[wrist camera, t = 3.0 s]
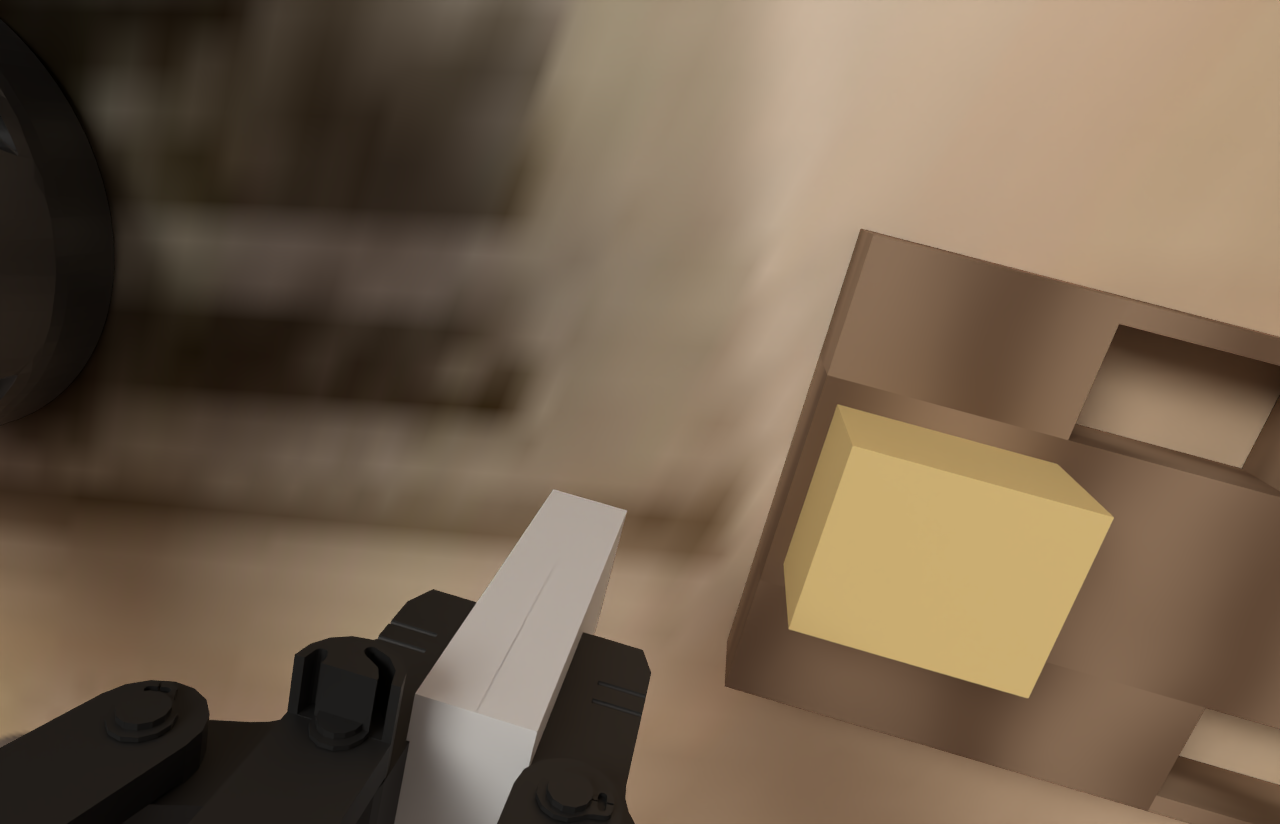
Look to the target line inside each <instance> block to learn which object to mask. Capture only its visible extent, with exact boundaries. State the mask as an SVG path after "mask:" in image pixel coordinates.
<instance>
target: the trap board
mask: <svg viewBox="0 0 1280 824" xmlns="http://www.w3.org/2000/svg"><path fill="white" fill-rule="evenodd" d="M1119 324H1121V325H1125V326H1129V327H1133V328H1137V329H1140V330H1144V331H1148V332H1152V333H1156V334H1160V335H1163V336H1167V337H1171V338H1175V339H1179V340H1183V341H1186V342H1190V343H1194V344H1198V345H1202V346H1206V347H1209V348H1213V349H1217V350H1221V351H1225V352H1229V353H1232V354H1236V355H1240V356H1244V357H1248V358H1252V359H1256V360H1259V361H1263V362H1267V363H1271V364H1275V365H1279V366H1280V337H1278V336H1274V335H1270V334H1266V333H1262V332H1259V331H1255V330H1251V329H1247V328H1243V327H1239V326H1235V325H1232V324H1228V323H1224V322H1220V321H1216V320H1212V319H1208V318H1204V317H1201V316H1197V315H1193V314H1189V313H1185V312H1181V311H1177V310H1174V309H1170V308H1166V307H1162V306H1158V305H1154V304H1150V303H1146V302H1143V301H1139V300H1135V299H1131V298H1127V297H1123V296H1119V295H1116V294H1112V293H1108V292H1104V291H1100V290H1096V289H1092V288H1088V287H1085V286H1081V285H1077V284H1073V283H1069V282H1065V281H1061V280H1058V279H1054V278H1050V277H1046V276H1042V275H1038V274H1034V273H1030V272H1027V271H1023V270H1019V269H1015V268H1011V267H1007V266H1003V265H1000V264H996V263H992V262H988V261H984V260H980V259H976V258H972V257H969V256H965V255H961V254H957V253H953V252H949V251H945V250H942V249H938V248H934V247H930V246H926V245H922V244H918V243H914V242H911V241H907V240H903V239H899V238H895V237H891V236H887V235H884V234H880V233H876V232H872V231H868V230H864V229H861V230H860V233H859V236H858V239H857V242H856V245H855V248H854V251H853V254H852V258H851V261H850V264H849V267H848V270H847V273H846V276H845V279H844V282H843V285H842V288H841V292H840V295H839V298H838V301H837V304H836V307H835V310H834V313H833V316H832V319H831V322H830V325H829V329H828V332H827V335H826V338H825V341H824V344H823V347H822V350H821V353H820V356H819V359H818V363H817V366H816V369H815V372H814V375H813V378H812V381H811V384H810V387H809V390H808V393H807V397H806V400H805V403H804V406H803V409H802V412H801V415H800V418H799V421H798V424H797V427H796V431H795V434H794V437H793V440H792V443H791V446H790V449H789V452H788V455H787V458H786V461H785V464H784V468H783V471H782V474H781V477H780V480H779V483H778V486H777V489H776V492H775V495H774V498H773V502H772V505H771V508H770V511H769V514H768V517H767V520H766V523H765V526H764V529H763V532H762V536H761V539H760V542H759V545H758V548H757V551H756V554H755V557H754V560H753V563H752V566H751V570H750V573H749V576H748V579H747V582H746V585H745V588H744V591H743V594H742V597H741V600H740V603H739V607H738V610H737V613H736V616H735V619H734V622H733V625H732V628H731V631H730V634H729V637H728V641H727V655H726V674H725V686H726V687H729V688H732V689H736V690H739V691H743V692H746V693H749V694H753V695H756V696H759V697H763V698H766V699H770V700H773V701H776V702H780V703H783V704H787V705H790V706H793V707H797V708H800V709H804V710H807V711H810V712H814V713H817V714H820V715H824V716H827V717H831V718H834V719H837V720H841V721H844V722H848V723H851V724H854V725H858V726H861V727H865V728H868V729H871V730H875V731H878V732H881V733H885V734H888V735H892V736H895V737H898V738H902V739H905V740H909V741H912V742H915V743H919V744H922V745H925V746H929V747H932V748H936V749H939V750H942V751H946V752H949V753H953V754H956V755H959V756H963V757H966V758H970V759H973V760H976V761H980V762H983V763H986V764H990V765H993V766H997V767H1000V768H1003V769H1007V770H1010V771H1014V772H1017V773H1020V774H1024V775H1027V776H1030V777H1034V778H1037V779H1041V780H1044V781H1047V782H1051V783H1054V784H1058V785H1061V786H1064V787H1068V788H1071V789H1075V790H1078V791H1081V792H1085V793H1088V794H1091V795H1095V796H1098V797H1102V798H1105V799H1108V800H1112V801H1115V802H1119V803H1122V804H1125V805H1129V806H1132V807H1135V808H1139V809H1142V810H1146V811H1149V812H1152V813H1156V814H1159V815H1163V816H1166V817H1169V818H1173V819H1176V820H1180V821H1183V822H1186V823H1190V824H1280V785H1277V784H1273V783H1270V782H1266V781H1263V780H1259V779H1256V778H1253V777H1249V776H1246V775H1242V774H1239V773H1235V772H1232V771H1228V770H1225V769H1222V768H1218V767H1215V766H1211V765H1208V764H1204V763H1201V762H1197V761H1194V760H1191V759H1187V758H1184V757H1180V756H1179V754H1180V753H1181V751H1182V749H1183V747H1184V745H1185V744H1186V742H1187V740H1188V738H1189V737H1190V735H1191V733H1192V731H1193V729H1194V728H1195V726H1196V724H1197V722H1198V720H1199V719H1200V717H1201V715H1202V713H1203V712H1204V710H1205V708H1208V709H1212V710H1215V711H1219V712H1222V713H1226V714H1229V715H1233V716H1236V717H1239V718H1243V719H1246V720H1250V721H1253V722H1257V723H1260V724H1264V725H1267V726H1271V727H1274V728H1278V729H1280V396H1279V398H1278V400H1277V402H1276V404H1275V406H1274V408H1273V410H1272V412H1271V414H1270V416H1269V418H1268V419H1267V421H1266V423H1265V425H1264V427H1263V429H1262V431H1261V433H1260V435H1259V437H1258V439H1257V441H1256V443H1255V445H1254V446H1253V448H1252V450H1251V452H1250V454H1249V456H1248V458H1247V460H1246V462H1245V464H1244V466H1243V468H1242V469H1241V468H1237V467H1234V466H1230V465H1226V464H1223V463H1219V462H1215V461H1211V460H1208V459H1204V458H1200V457H1196V456H1193V455H1189V454H1185V453H1182V452H1178V451H1174V450H1170V449H1167V448H1163V447H1159V446H1156V445H1152V444H1148V443H1144V442H1141V441H1137V440H1133V439H1130V438H1126V437H1122V436H1118V435H1115V434H1111V433H1107V432H1103V431H1100V430H1096V429H1092V428H1089V427H1085V426H1081V425H1077V424H1075V423H1076V421H1077V419H1078V417H1079V414H1080V412H1081V410H1082V407H1083V405H1084V403H1085V401H1086V398H1087V396H1088V394H1089V392H1090V389H1091V387H1092V385H1093V382H1094V380H1095V378H1096V376H1097V373H1098V371H1099V369H1100V366H1101V364H1102V362H1103V360H1104V357H1105V355H1106V353H1107V351H1108V348H1109V346H1110V344H1111V341H1112V339H1113V337H1114V335H1115V332H1116V330H1117V328H1118V326H1119ZM837 404H838V405H842V406H846V407H849V408H853V409H857V410H860V411H864V412H868V413H871V414H875V415H879V416H883V417H886V418H890V419H894V420H897V421H901V422H905V423H908V424H912V425H916V426H919V427H923V428H927V429H930V430H934V431H938V432H941V433H945V434H949V435H952V436H956V437H960V438H963V439H967V440H971V441H974V442H978V443H982V444H985V445H989V446H993V447H996V448H1000V449H1004V450H1008V451H1011V452H1015V453H1019V454H1022V455H1026V456H1030V457H1033V458H1037V459H1041V460H1044V461H1048V462H1052V463H1055V464H1058V465H1059V466H1060V467H1061V468H1062V469H1063V470H1064V471H1065V472H1066V473H1068V474H1069V475H1070V476H1071V477H1072V478H1073V479H1074V480H1075V481H1076V482H1077V483H1078V484H1079V485H1080V486H1081V487H1082V488H1083V489H1085V490H1086V491H1087V492H1088V493H1089V494H1090V495H1091V496H1092V497H1093V498H1094V499H1095V500H1096V501H1097V502H1098V503H1099V504H1100V505H1102V506H1103V507H1104V508H1105V509H1106V510H1107V511H1108V512H1109V513H1110V514H1111V515H1112V516H1113V517H1114V519H1113V521H1112V523H1111V525H1110V527H1109V530H1108V532H1107V534H1106V536H1105V538H1104V540H1103V542H1102V544H1101V546H1100V549H1099V551H1098V553H1097V555H1096V557H1095V559H1094V561H1093V563H1092V565H1091V568H1090V570H1089V572H1088V574H1087V576H1086V578H1085V580H1084V582H1083V584H1082V587H1081V589H1080V591H1079V593H1078V595H1077V597H1076V599H1075V601H1074V603H1073V605H1072V608H1071V610H1070V612H1069V614H1068V616H1067V618H1066V620H1065V622H1064V624H1063V627H1062V629H1061V631H1060V633H1059V635H1058V637H1057V639H1056V641H1055V643H1054V646H1053V648H1052V650H1051V652H1050V654H1049V656H1048V658H1047V660H1046V662H1045V665H1044V667H1043V669H1042V671H1041V673H1040V675H1039V677H1038V679H1037V681H1036V684H1035V686H1034V688H1033V690H1032V692H1031V694H1030V696H1029V698H1024V697H1021V696H1018V695H1014V694H1011V693H1007V692H1004V691H1000V690H997V689H993V688H990V687H986V686H983V685H980V684H976V683H973V682H969V681H966V680H962V679H959V678H955V677H952V676H948V675H945V674H942V673H938V672H935V671H931V670H928V669H924V668H921V667H917V666H914V665H910V664H907V663H904V662H900V661H897V660H893V659H890V658H886V657H883V656H879V655H876V654H873V653H869V652H866V651H862V650H859V649H855V648H852V647H848V646H845V645H841V644H838V643H835V642H831V641H828V640H824V639H821V638H817V637H814V636H810V635H807V634H803V633H800V632H797V631H793V630H790V629H789V628H788V616H787V603H786V590H785V578H784V565H783V564H784V561H785V558H786V555H787V552H788V549H789V546H790V543H791V540H792V537H793V534H794V531H795V528H796V525H797V522H798V519H799V516H800V513H801V510H802V508H803V505H804V502H805V499H806V496H807V493H808V490H809V487H810V484H811V481H812V478H813V475H814V472H815V469H816V466H817V463H818V460H819V457H820V454H821V451H822V448H823V445H824V442H825V439H826V436H827V433H828V431H829V428H830V425H831V422H832V419H833V416H834V413H835V410H836V407H837Z"/></svg>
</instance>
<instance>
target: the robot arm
mask: <svg viewBox="0 0 1280 824" xmlns="http://www.w3.org/2000/svg"><path fill="white" fill-rule="evenodd" d="M113 274H114V244H113V231H112V223H111V216H110V211H109V206H108V201H107V196H106V192H105V188H104V185H103V181H102V177H101V174H100V171H99V168H98V165H97V162H96V159H95V157H94V154H93V152H92V149H91V147H90V144H89V142H88V139H87V137H86V135H85V133H84V131H83V129H82V127H81V124H80V122H79V121H78V119H77V117H76V115H75V113H74V111H73V109H72V108H71V106H70V104H69V102H68V101H67V99H66V98H65V96H64V94H63V93H62V91H61V89H60V88H59V86H58V85H57V83H56V82H55V81H54V79H53V78H52V76H51V75H50V73H49V72H48V71H47V69H46V68H45V67H44V66H43V64H42V63H41V62H40V61H39V59H38V58H37V57H36V55H35V54H34V53H33V52H32V51H31V50H30V49H29V47H28V46H27V45H26V44H25V43H24V42H23V41H22V40H21V39H20V38H19V37H18V36H17V35H16V34H15V33H14V32H13V31H12V30H11V29H10V28H9V27H8V26H7V25H6V24H5V23H4V22H3V21H2V20H1V19H0V425H2V424H5V423H8V422H11V421H14V420H17V419H20V418H22V417H24V416H27V415H29V414H31V413H33V412H35V411H37V410H38V409H40V408H42V407H44V406H45V405H47V404H48V403H49V402H51V401H52V400H54V399H55V398H56V397H57V396H58V395H59V394H61V393H62V392H63V391H64V390H65V389H66V388H67V387H68V386H69V385H70V384H71V383H72V382H73V381H74V379H75V378H76V377H77V376H78V374H79V373H80V372H81V371H82V369H83V368H84V366H85V365H86V363H87V361H88V360H89V358H90V356H91V355H92V353H93V351H94V349H95V347H96V345H97V343H98V340H99V338H100V335H101V333H102V330H103V327H104V324H105V321H106V317H107V314H108V309H109V305H110V300H111V293H112V287H113ZM626 513H627V510H624V509H620V508H617V507H613V506H610V505H606V504H603V503H599V502H596V501H592V500H589V499H586V498H582V497H579V496H575V495H572V494H568V493H565V492H561V491H558V490H554V489H553V491H552V492H551V494H550V495H549V496H548V498H547V499H546V501H545V502H544V504H543V505H542V507H541V508H540V510H539V511H538V513H537V514H536V516H535V517H534V519H533V520H532V522H531V523H530V525H529V526H528V528H527V529H526V530H525V532H524V533H523V535H522V536H521V538H520V539H519V541H518V542H517V544H516V545H515V547H514V548H513V550H512V551H511V553H510V554H509V556H508V557H507V559H506V560H505V562H504V563H503V564H502V566H501V567H500V569H499V570H498V572H497V573H496V575H495V576H494V578H493V579H492V581H491V582H490V584H489V585H488V587H487V588H486V590H485V591H484V593H483V594H482V595H481V597H480V598H479V600H478V601H477V602H474V601H470V600H467V599H464V598H460V597H457V596H454V595H450V594H447V593H444V592H440V591H437V590H434V589H433V590H430V591H428V592H426V593H424V594H422V595H420V596H418V597H416V598H414V599H412V600H410V601H408V602H407V603H406V604H405V605H404V606H403V607H402V609H401V610H400V611H399V612H398V613H397V615H396V616H395V617H394V618H393V619H392V622H391V624H388V625H387V626H386V628H385V629H384V630H383V631H382V632H381V634H380V635H379V637H378V639H375V640H371V639H365V638H359V637H354V636H350V637H333V638H328V639H325V640H321V641H318V642H315V643H312V644H310V645H308V646H307V647H305V648H304V649H302V650H301V651H299V652H298V653H296V654H295V658H294V665H293V673H292V681H291V688H290V696H289V704H288V711H287V713H286V714H285V715H284V716H283V717H282V719H281V720H277V721H271V722H237V721H218V720H209V710H208V705H207V700H206V699H205V698H204V697H203V696H202V695H201V694H200V693H199V692H197V691H196V690H195V689H194V688H191V687H189V686H186V685H183V684H180V683H177V682H171V681H155V680H150V681H144V682H137V683H131V684H125V685H123V686H120V687H118V688H115V689H113V690H110V691H107V692H105V693H102V694H100V695H98V696H97V697H95V698H93V699H91V700H89V701H87V702H85V703H83V704H82V705H80V706H78V707H76V708H74V709H72V710H70V711H68V712H67V713H65V714H63V715H61V716H59V717H57V718H55V719H53V720H52V721H50V722H48V723H46V724H44V725H42V726H40V727H38V728H37V729H35V730H33V731H31V732H29V733H27V734H25V735H23V736H22V737H20V738H18V739H16V740H14V741H12V742H10V743H8V744H7V745H5V746H3V747H1V748H0V824H635V823H634V821H633V819H632V818H631V816H630V814H629V812H628V808H627V804H626V800H625V794H626V784H627V779H628V775H629V770H630V766H631V761H632V757H633V752H634V748H635V743H636V739H637V734H638V730H639V725H640V721H641V715H642V712H643V707H644V703H645V697H646V694H647V689H648V685H649V680H650V676H651V671H650V669H649V666H648V663H647V660H646V658H645V655H644V652H643V650H641V649H638V648H634V647H631V646H628V645H624V644H621V643H618V642H614V641H611V640H608V639H604V638H601V637H598V636H594V633H595V631H596V627H597V623H598V620H599V616H600V612H601V608H602V604H603V601H604V597H605V593H606V589H607V585H608V582H609V578H610V574H611V570H612V566H613V562H614V559H615V555H616V551H617V547H618V543H619V540H620V536H621V532H622V528H623V524H624V521H625V517H626Z"/></svg>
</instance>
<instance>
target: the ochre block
mask: <svg viewBox="0 0 1280 824" xmlns="http://www.w3.org/2000/svg"><path fill="white" fill-rule="evenodd" d="M1113 519H1114V517H1113V516H1112V515H1111V514H1110V513H1109V512H1108V511H1107V510H1106V509H1105V508H1104V507H1103V506H1102V505H1100V504H1099V503H1098V502H1097V501H1096V500H1095V499H1094V498H1093V497H1092V496H1091V495H1090V494H1089V493H1088V492H1087V491H1086V490H1085V489H1083V488H1082V487H1081V486H1080V485H1079V484H1078V483H1077V482H1076V481H1075V480H1074V479H1073V478H1072V477H1071V476H1070V475H1069V474H1068V473H1066V472H1065V471H1064V470H1063V469H1062V468H1061V467H1060V466H1059V465H1058V464H1055V463H1052V462H1048V461H1044V460H1041V459H1037V458H1033V457H1030V456H1026V455H1022V454H1019V453H1015V452H1011V451H1008V450H1004V449H1000V448H996V447H993V446H989V445H985V444H982V443H978V442H974V441H971V440H967V439H963V438H960V437H956V436H952V435H949V434H945V433H941V432H938V431H934V430H930V429H927V428H923V427H919V426H916V425H912V424H908V423H905V422H901V421H897V420H894V419H890V418H886V417H883V416H879V415H875V414H871V413H868V412H864V411H860V410H857V409H853V408H849V407H846V406H842V405H838V404H837V407H836V410H835V413H834V416H833V419H832V422H831V425H830V428H829V431H828V433H827V436H826V439H825V442H824V445H823V448H822V451H821V454H820V457H819V460H818V463H817V466H816V469H815V472H814V475H813V478H812V481H811V484H810V487H809V490H808V493H807V496H806V499H805V502H804V505H803V508H802V510H801V513H800V516H799V519H798V522H797V525H796V528H795V531H794V534H793V537H792V540H791V543H790V546H789V549H788V552H787V555H786V558H785V561H784V564H783V565H784V578H785V590H786V603H787V616H788V628H789V629H790V630H793V631H797V632H800V633H803V634H807V635H810V636H814V637H817V638H821V639H824V640H828V641H831V642H835V643H838V644H841V645H845V646H848V647H852V648H855V649H859V650H862V651H866V652H869V653H873V654H876V655H879V656H883V657H886V658H890V659H893V660H897V661H900V662H904V663H907V664H910V665H914V666H917V667H921V668H924V669H928V670H931V671H935V672H938V673H942V674H945V675H948V676H952V677H955V678H959V679H962V680H966V681H969V682H973V683H976V684H980V685H983V686H986V687H990V688H993V689H997V690H1000V691H1004V692H1007V693H1011V694H1014V695H1018V696H1021V697H1024V698H1029V696H1030V694H1031V692H1032V690H1033V688H1034V686H1035V684H1036V681H1037V679H1038V677H1039V675H1040V673H1041V671H1042V669H1043V667H1044V665H1045V662H1046V660H1047V658H1048V656H1049V654H1050V652H1051V650H1052V648H1053V646H1054V643H1055V641H1056V639H1057V637H1058V635H1059V633H1060V631H1061V629H1062V627H1063V624H1064V622H1065V620H1066V618H1067V616H1068V614H1069V612H1070V610H1071V608H1072V605H1073V603H1074V601H1075V599H1076V597H1077V595H1078V593H1079V591H1080V589H1081V587H1082V584H1083V582H1084V580H1085V578H1086V576H1087V574H1088V572H1089V570H1090V568H1091V565H1092V563H1093V561H1094V559H1095V557H1096V555H1097V553H1098V551H1099V549H1100V546H1101V544H1102V542H1103V540H1104V538H1105V536H1106V534H1107V532H1108V530H1109V527H1110V525H1111V523H1112V521H1113Z"/></svg>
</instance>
